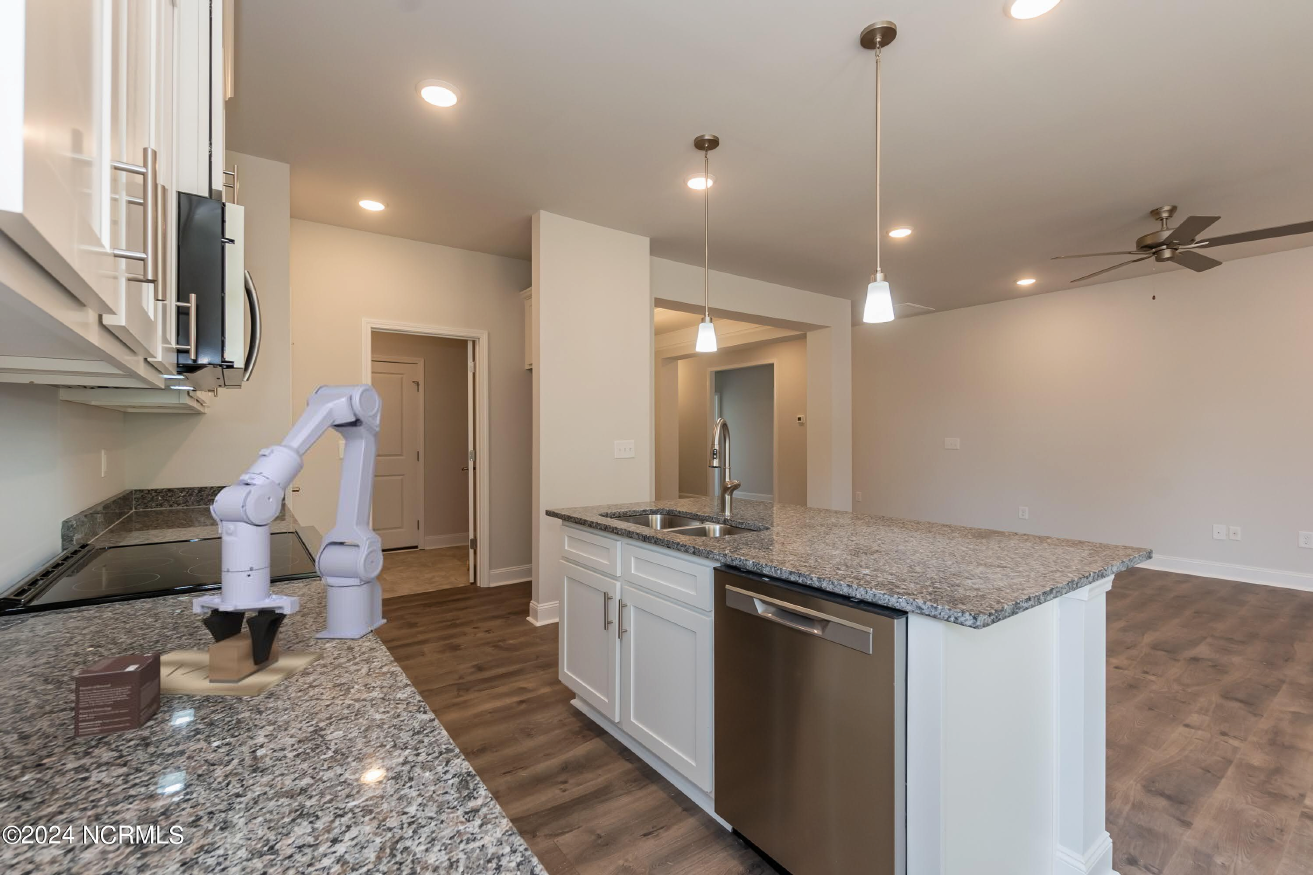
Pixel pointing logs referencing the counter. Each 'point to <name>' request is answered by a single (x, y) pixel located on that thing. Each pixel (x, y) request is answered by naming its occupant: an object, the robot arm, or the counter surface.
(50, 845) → the counter surface
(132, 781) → the counter surface
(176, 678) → the board
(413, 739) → the counter surface
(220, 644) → the sanding block
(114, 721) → the box
